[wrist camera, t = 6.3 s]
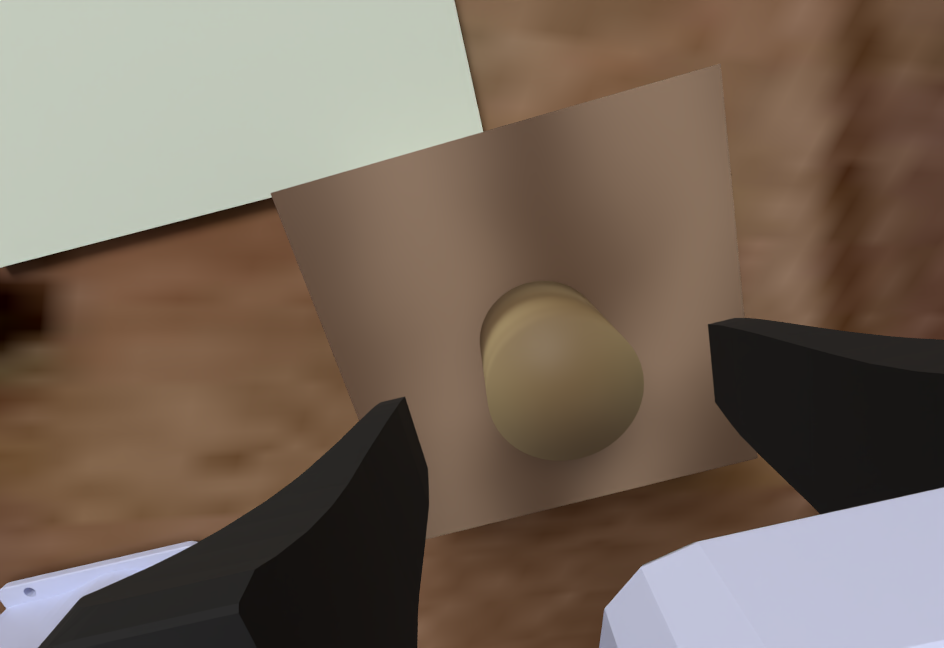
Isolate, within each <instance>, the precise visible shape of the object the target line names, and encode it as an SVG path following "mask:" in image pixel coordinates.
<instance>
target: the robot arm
mask: <svg viewBox="0 0 944 648" xmlns="http://www.w3.org/2000/svg"><path fill="white" fill-rule="evenodd" d="M708 332H709V343H710V353H711V364H712V375H713V386H714V396H715V403H716V404H717V406H718V407H719V408H720V410H721V411H722V412H723V414H724V415H725V417H726V418H727V419H728V421H729V422H730V423H731V425H732V426H733V427H734V428H735V430H736V431H737V432H738V433H739V435H740V436H741V437H742V438H743V439H744V440H745V441H746V442H747V443H748V444H749V445H750V446H751V447H752V448H753V449H754V450H755V451H756V452H757V453H758V454H759V455H760V456H761V457H762V458H763V459H764V460H765V461H766V462H768V463H769V464H770V465H771V466H772V467H773V468H774V469H775V470H776V471H777V472H778V473H779V474H780V475H781V476H782V477H783V478H784V479H785V480H786V481H787V482H788V483H789V484H790V485H791V486H792V487H793V488H794V489H795V490H796V491H797V492H799V493H800V494H801V495H802V496H803V497H804V498H805V499H806V500H807V501H808V502H809V503H810V504H811V505H812V506H813V507H814V508H815V509H816V510H817V511H818V512H819V513H820V515H816V516H811V517H807V518H802V519H797V520H793V521H788V522H784V523H779V524H775V525H770V526H766V527H761V528H757V529H752V530H748V531H743V532H738V533H734V534H729V535H725V536H720V537H716V538H711V539H707V540H702V541H698V542H693V543H691V544H689V545H687V546H684V547H682V548H680V549H677V550H675V551H673V552H671V553H668V554H666V555H664V556H662V557H659V558H657V559H655V560H653V561H650V562H648V563H646V564H644V565H642V566H641V567H640V569H639V570H638V571H637V572H636V573H635V574H634V575H633V577H632V578H631V579H630V580H629V581H628V582H627V583H626V585H625V586H624V587H623V588H622V589H621V590H620V591H619V593H618V594H617V595H616V596H615V597H614V598H613V599H612V601H611V602H610V603H609V604H608V605H607V606H606V607H605V609H604V616H603V623H602V631H601V638H600V645H599V648H944V340H936V339H917V338H903V337H891V336H881V335H872V334H863V333H854V332H847V331H839V330H831V329H824V328H818V327H811V326H804V325H797V324H791V323H784V322H777V321H770V320H761V319H752V318H732V319H728V320H724V321H720V322H715V323H711V324H708ZM428 512H429V478H428V467H427V464H426V460H425V457H424V454H423V451H422V448H421V445H420V442H419V439H418V436H417V432H416V429H415V426H414V423H413V420H412V417H411V414H410V411H409V407H408V404H407V401H406V398H405V397H401V398H397V399H392V400H388V401H384V402H380V403H379V404H377V405H376V406H375V407H373V408H372V409H371V410H370V411H369V412H368V413H367V414H366V415H365V416H364V417H363V418H362V419H361V420H360V421H359V422H358V423H357V424H356V425H355V426H354V427H353V428H352V429H351V430H350V431H349V432H348V433H347V434H346V435H345V436H344V437H343V438H342V439H341V440H340V441H338V442H337V443H336V444H335V445H334V446H333V447H332V448H331V449H330V450H329V451H328V452H326V453H325V454H324V455H323V456H322V457H321V458H320V459H319V460H318V461H316V462H315V463H314V464H313V465H312V466H311V467H310V468H309V469H308V470H306V471H305V472H304V473H303V474H301V475H300V476H299V477H298V478H296V479H295V480H294V481H293V482H291V483H290V484H289V485H287V486H286V487H285V488H283V489H282V490H281V491H279V492H278V493H277V494H275V495H274V496H272V497H271V498H270V499H268V500H267V501H265V502H264V503H262V504H261V505H259V506H258V507H256V508H254V509H253V510H251V511H250V512H248V513H247V514H245V515H243V516H242V517H240V518H239V519H237V520H236V521H234V522H232V523H231V524H229V525H228V526H226V527H224V528H223V529H221V530H219V531H218V532H216V533H214V534H212V535H210V536H209V537H207V538H205V539H203V540H201V541H200V542H195V541H188V542H184V543H179V544H175V545H171V546H166V547H162V548H157V549H153V550H149V551H144V552H140V553H135V554H131V555H127V556H122V557H118V558H114V559H109V560H105V561H100V562H96V563H92V564H87V565H83V566H78V567H74V568H70V569H65V570H61V571H57V572H52V573H48V574H43V575H39V576H35V577H30V578H26V579H22V580H17V581H13V582H9V583H7V584H5V585H4V586H3V587H2V588H1V589H0V600H1V602H2V603H3V605H4V606H5V607H6V610H5V611H4V612H3V613H2V614H1V615H0V648H417V632H418V603H419V591H420V582H421V574H422V565H423V557H424V548H425V540H426V531H427V522H428Z"/></svg>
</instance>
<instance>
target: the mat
mask: <svg viewBox="0 0 944 648" xmlns="http://www.w3.org/2000/svg"><path fill="white" fill-rule="evenodd" d="M481 132H483V129H482V124H481V120H480V115H479V111H478V106H477V102H476V97H475V93H474V88H473V83H472V79H471V74H470V70H469V65H468V61H467V56H466V52H465V47H464V43H463V38H462V33H461V29H460V24H459V20H458V15H457V11H456V6H455V2H454V0H0V268H1V267H5V266H9V265H12V264H16V263H20V262H24V261H28V260H32V259H36V258H40V257H43V256H47V255H51V254H55V253H59V252H63V251H67V250H70V249H74V248H78V247H82V246H86V245H90V244H94V243H98V242H101V241H105V240H109V239H113V238H117V237H121V236H125V235H128V234H132V233H136V232H140V231H144V230H148V229H152V228H156V227H159V226H163V225H167V224H171V223H175V222H179V221H183V220H187V219H190V218H194V217H198V216H202V215H206V214H210V213H214V212H217V211H221V210H225V209H229V208H233V207H237V206H241V205H245V204H248V203H252V202H256V201H260V200H264V199H268V198H272V196H271V194H270V193H272V192H276V191H279V190H283V189H286V188H290V187H293V186H297V185H300V184H304V183H307V182H311V181H314V180H318V179H321V178H324V177H328V176H331V175H335V174H338V173H342V172H345V171H349V170H352V169H356V168H359V167H363V166H366V165H370V164H373V163H377V162H380V161H384V160H387V159H391V158H394V157H397V156H401V155H404V154H408V153H411V152H415V151H418V150H422V149H425V148H429V147H432V146H436V145H439V144H443V143H446V142H450V141H453V140H457V139H460V138H464V137H467V136H470V135H474V134H477V133H481Z"/></svg>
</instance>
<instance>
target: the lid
mask: <svg viewBox="0 0 944 648" xmlns="http://www.w3.org/2000/svg"><path fill="white" fill-rule="evenodd" d="M270 194H271V196H272V199H273V201H274V204H275V206H276V209H277V211H278V214H279V217H280V219H281V222H282V224H283V227H284V229H285V232H286V234H287V237H288V240H289V242H290V245H291V247H292V250H293V252H294V255H295V257H296V260H297V263H298V265H299V268H300V270H301V273H302V275H303V278H304V280H305V283H306V286H307V288H308V291H309V293H310V296H311V298H312V301H313V303H314V306H315V309H316V311H317V314H318V316H319V319H320V321H321V324H322V327H323V329H324V332H325V334H326V337H327V339H328V342H329V344H330V347H331V350H332V352H333V355H334V357H335V360H336V362H337V365H338V367H339V370H340V373H341V375H342V378H343V380H344V383H345V385H346V388H347V390H348V393H349V396H350V398H351V401H352V403H353V406H354V408H355V411H356V413H357V416H358V419H359V421H360V420H361V419H362V418H363V417H364V416H365V415H366V414H367V413H368V412H369V411H370V410H371V409H372V408H373V407H375V406H376V405H377V404H379V403H380V402H384V401H388V400H392V399H397V398H401V397H405V398H406V401H407V404H408V407H409V411H410V414H411V417H412V420H413V423H414V426H415V429H416V432H417V436H418V439H419V442H420V445H421V448H422V451H423V454H424V457H425V460H426V464H427V467H428V478H429V512H428V522H427V531H426V539H429V538H433V537H437V536H441V535H445V534H450V533H454V532H458V531H462V530H466V529H470V528H474V527H478V526H482V525H486V524H490V523H494V522H499V521H503V520H507V519H511V518H515V517H519V516H523V515H527V514H531V513H535V512H539V511H543V510H548V509H552V508H556V507H560V506H564V505H568V504H572V503H576V502H580V501H584V500H588V499H592V498H597V497H601V496H605V495H609V494H613V493H617V492H621V491H625V490H629V489H633V488H637V487H641V486H645V485H650V484H654V483H658V482H662V481H666V480H670V479H674V478H678V477H682V476H686V475H690V474H694V473H699V472H703V471H707V470H711V469H715V468H719V467H723V466H727V465H731V464H735V463H739V462H743V461H748V460H752V459H756V458H757V452H756V451H755V450H754V449H753V448H752V447H751V446H750V445H749V444H748V443H747V442H746V441H745V440H744V439H743V438H742V437H741V436H740V435H739V433H738V432H737V431H736V430H735V428H734V427H733V426H732V425H731V423H730V422H729V421H728V419H727V418H726V417H725V415H724V414H723V412H722V411H721V410H720V408H719V407H718V406H717V404H716V403H715V396H714V386H713V375H712V364H711V353H710V343H709V332H708V324H711V323H715V322H720V321H724V320H728V319H732V318H744V309H743V298H742V287H741V277H740V266H739V255H738V245H737V234H736V223H735V213H734V202H733V192H732V181H731V170H730V160H729V149H728V138H727V128H726V117H725V106H724V96H723V85H722V74H721V64H717V65H714V66H710V67H707V68H703V69H700V70H696V71H693V72H689V73H686V74H683V75H679V76H676V77H672V78H669V79H665V80H662V81H658V82H655V83H651V84H648V85H644V86H641V87H637V88H634V89H630V90H627V91H623V92H620V93H616V94H613V95H610V96H606V97H603V98H599V99H596V100H592V101H589V102H585V103H582V104H578V105H575V106H571V107H568V108H564V109H561V110H557V111H554V112H550V113H547V114H543V115H540V116H537V117H533V118H530V119H526V120H523V121H519V122H516V123H512V124H509V125H505V126H502V127H498V128H495V129H491V130H488V131H484V132H481V133H477V134H474V135H470V136H467V137H464V138H460V139H457V140H453V141H450V142H446V143H443V144H439V145H436V146H432V147H429V148H425V149H422V150H418V151H415V152H411V153H408V154H404V155H401V156H397V157H394V158H391V159H387V160H384V161H380V162H377V163H373V164H370V165H366V166H363V167H359V168H356V169H352V170H349V171H345V172H342V173H338V174H335V175H331V176H328V177H324V178H321V179H318V180H314V181H311V182H307V183H304V184H300V185H297V186H293V187H290V188H286V189H283V190H279V191H276V192H272V193H270Z"/></svg>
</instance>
